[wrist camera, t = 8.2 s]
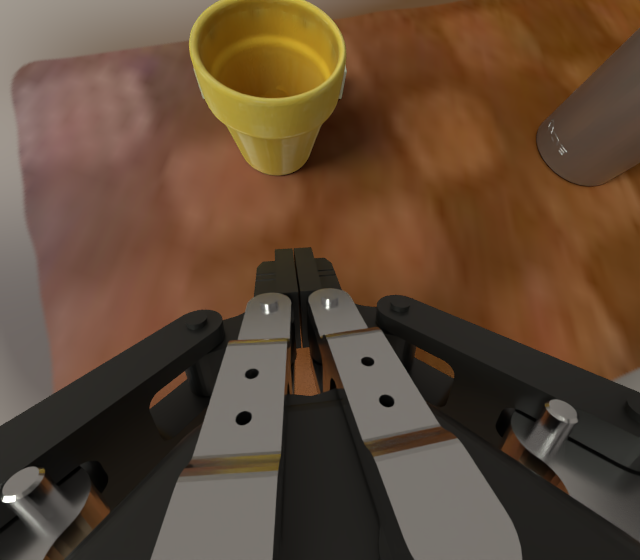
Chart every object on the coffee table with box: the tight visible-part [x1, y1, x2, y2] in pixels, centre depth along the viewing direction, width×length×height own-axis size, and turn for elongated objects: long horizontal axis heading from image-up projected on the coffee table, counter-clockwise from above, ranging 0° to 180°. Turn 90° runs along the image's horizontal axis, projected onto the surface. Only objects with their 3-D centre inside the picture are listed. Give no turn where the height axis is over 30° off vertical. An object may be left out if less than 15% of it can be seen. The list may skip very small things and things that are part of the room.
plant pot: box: [189, 0, 346, 175], centre depth 25 cm, size 10×10×10 cm
